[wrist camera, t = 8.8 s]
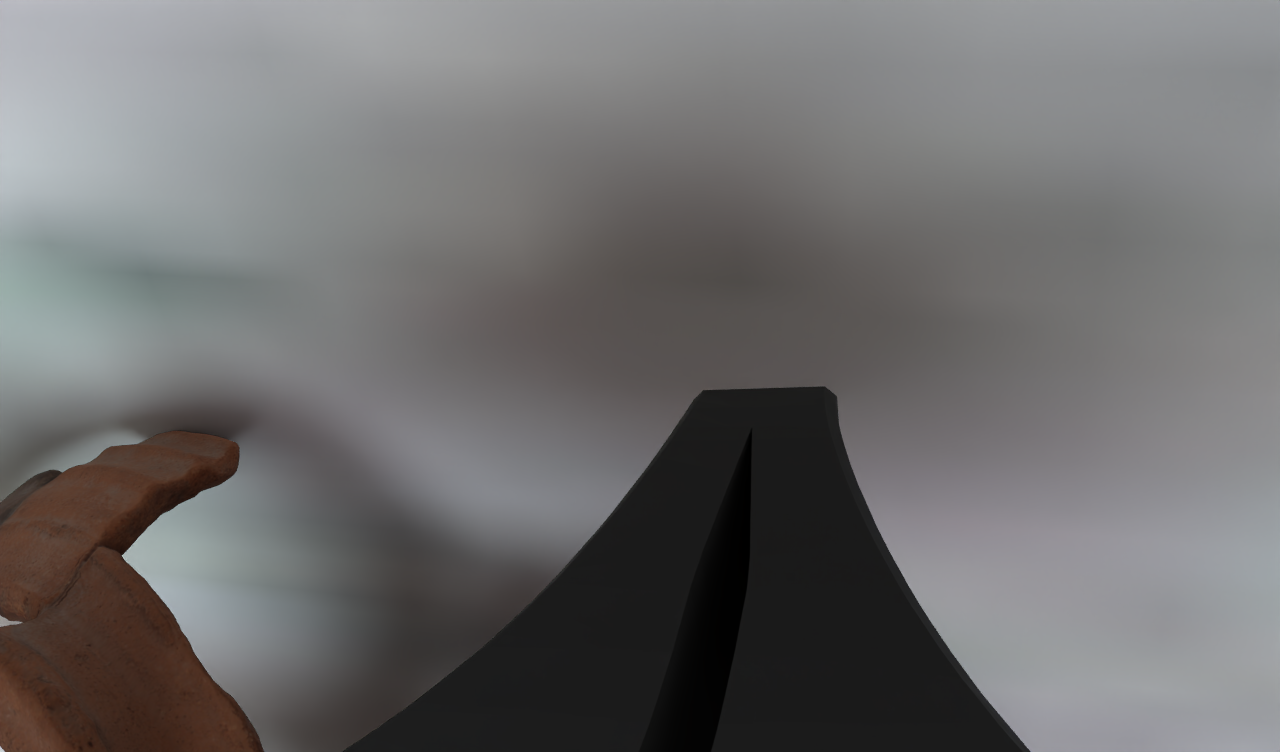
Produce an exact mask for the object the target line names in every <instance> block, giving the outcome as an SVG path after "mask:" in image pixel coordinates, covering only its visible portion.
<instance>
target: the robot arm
mask: <svg viewBox="0 0 1280 752" xmlns="http://www.w3.org/2000/svg"><path fill="white" fill-rule="evenodd" d="M343 752H1030V751H1029V749H1028V748H1027V747H1026V746H1025V745H1024V743H1023V742H1022V741H1021V740H1020V739H1019V738H1018V736H1017V735H1016V734H1015V733H1014V732H1013V730H1012V729H1011V728H1010V727H1009V726H1008V725H1007V723H1006V722H1005V721H1004V720H1003V719H1002V717H1001V716H1000V715H999V714H998V713H997V711H996V710H995V709H994V708H993V707H992V706H991V704H990V703H989V702H988V701H987V700H986V698H985V697H984V696H983V695H982V693H981V692H980V691H979V689H978V688H977V687H976V685H975V684H974V683H973V681H972V680H971V679H970V677H969V676H968V674H967V673H966V672H965V670H964V669H963V668H962V666H961V665H960V664H959V662H958V661H957V660H956V658H955V657H954V655H953V654H952V653H951V651H950V650H949V648H948V647H947V645H946V644H945V642H944V641H943V639H942V638H941V636H940V635H939V633H938V632H937V631H936V629H935V628H934V626H933V625H932V623H931V622H930V620H929V619H928V617H927V615H926V614H925V612H924V611H923V609H922V607H921V606H920V604H919V603H918V601H917V599H916V598H915V596H914V594H913V593H912V591H911V589H910V588H909V586H908V584H907V583H906V581H905V579H904V577H903V575H902V574H901V572H900V570H899V568H898V566H897V564H896V563H895V561H894V559H893V557H892V555H891V554H890V552H889V550H888V548H887V546H886V544H885V542H884V540H883V538H882V536H881V534H880V532H879V530H878V528H877V526H876V524H875V522H874V519H873V517H872V515H871V513H870V510H869V508H868V506H867V504H866V501H865V499H864V497H863V495H862V492H861V490H860V488H859V486H858V483H857V481H856V478H855V475H854V473H853V470H852V468H851V465H850V462H849V459H848V455H847V452H846V449H845V446H844V443H843V439H842V435H841V432H840V427H839V419H838V405H837V396H836V395H835V394H833V393H832V392H831V391H830V390H829V389H827V388H826V387H794V388H762V389H731V390H703V391H702V392H701V393H700V394H699V395H698V396H697V397H696V398H695V399H694V400H693V402H692V403H691V405H690V406H689V408H688V409H687V411H686V413H685V414H684V416H683V417H682V418H681V420H680V421H679V423H678V424H677V426H676V427H675V429H674V430H673V432H672V433H671V435H670V436H669V438H668V439H667V440H666V442H665V443H664V445H663V446H662V448H661V449H660V450H659V452H658V453H657V455H656V456H655V457H654V459H653V460H652V461H651V463H650V464H649V466H648V467H647V468H646V470H645V471H644V472H643V474H642V475H641V476H640V478H639V479H638V480H637V481H636V483H635V484H634V485H633V487H632V488H631V489H630V490H629V492H628V493H627V494H626V496H625V497H624V498H623V499H622V501H621V502H620V503H619V505H618V506H617V507H616V508H615V510H614V511H613V512H612V514H611V515H610V516H609V517H608V518H607V520H606V521H605V522H604V523H603V524H602V526H601V527H600V528H599V529H598V530H597V531H596V533H595V534H594V535H593V536H592V537H591V538H590V539H589V540H588V542H587V543H586V544H585V545H584V546H583V547H582V548H581V550H580V551H579V552H578V553H577V554H576V555H575V556H574V557H573V559H572V560H571V561H570V562H569V563H568V564H567V565H566V566H565V568H564V569H563V570H562V571H561V572H560V573H559V574H558V575H557V576H556V577H555V579H554V580H553V581H552V582H551V583H550V584H549V585H548V586H547V587H546V588H545V589H544V590H543V591H542V592H541V593H540V594H539V595H538V596H537V597H536V598H535V599H534V600H533V601H532V602H531V603H530V604H529V605H528V606H527V607H526V608H525V609H524V610H523V611H522V612H521V613H520V614H519V615H518V616H517V617H515V618H514V619H513V620H512V621H511V622H510V623H509V624H508V625H507V626H506V627H505V628H504V629H503V630H502V631H500V632H499V633H498V634H497V635H496V636H495V637H494V638H493V639H492V640H491V641H490V642H488V643H487V644H486V645H485V646H484V647H483V648H481V649H480V650H479V651H478V652H477V653H475V654H474V655H473V656H472V657H470V658H469V659H468V660H467V661H465V662H464V663H463V664H462V665H460V666H459V667H458V668H457V669H455V670H454V671H453V672H452V673H450V674H449V675H448V676H447V677H445V678H444V679H443V680H442V681H440V682H439V683H438V684H436V685H435V686H434V687H433V688H431V689H430V690H429V691H428V692H426V693H425V694H424V695H423V696H421V697H420V698H419V699H418V700H416V701H415V702H414V703H412V704H411V705H410V706H408V707H407V708H406V709H404V710H403V711H401V712H400V713H399V714H397V715H396V716H394V717H393V718H391V719H390V720H389V721H387V722H386V723H384V724H383V725H381V726H380V727H379V728H377V729H376V730H374V731H373V732H371V733H370V734H368V735H367V736H366V737H364V738H363V739H361V740H360V741H358V742H356V743H355V744H353V745H352V746H350V747H349V748H347V749H346V750H344V751H343Z"/></svg>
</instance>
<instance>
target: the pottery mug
mask: <svg viewBox="0 0 1280 752" xmlns="http://www.w3.org/2000/svg"><path fill="white" fill-rule="evenodd" d="M238 463H239V446H238V444H237V443H236V442H233V441H230V440H228V439H225V438H221V437H218V436H214V435H208V434H201V433H191V432H185V431H170V432H165V433H160V434H157V435H155V436H153V437H152V438H149V439H147V440H145V441H143V442H141V443H139V444H134V445H122V446H111V447H109V448H107V449H105V450H104V451H103V452H102V453H101V454H100V455H99V456H98V457H97V458H96V459H94V460H93V461H91V462H89V463H87V464H84V465H78V466H75V467H72V468H69V469H67V470H66V471H64V472H63V473H62V472H60V471H57V470H49V471H46V472H43V473H40V474H37V475H35V476H33V477H32V478H30V479H29V480H27V481H26V482H25V483H24V484H23V485H21V486H20V487H18V488H17V489H16V490H15V491H14V492H13V493H11V494H10V495H9V496H8V497H6V498H5V499H4V500H3V501H2V502H1V503H0V615H1V616H2V617H5V618H7V619H8V620H9V621H20V622H23V623H21V624H17V625H9V626H4V627H0V746H1V748H2V749H3V750H4V751H5V752H264V750H263V748H262V745H261V742H260V739H259V736H258V734H257V732H256V730H255V729H254V727H253V726H252V724H251V722H250V721H249V719H248V718H247V716H246V715H245V713H244V712H243V710H242V709H241V708H240V706H239V705H238V703H237V702H236V701H235V699H234V698H233V697H232V696H231V695H229V694H228V693H226V692H225V691H224V690H223V689H222V688H221V687H220V686H219V685H218V684H217V683H215V682H214V681H213V679H212V678H211V676H210V675H209V674H208V673H207V671H206V670H205V668H204V667H203V665H202V664H201V662H200V661H199V659H198V658H197V657H196V655H195V653H194V652H193V649H192V647H191V645H190V643H189V641H188V639H187V638H186V636H185V635H184V634H183V632H182V631H181V629H180V626H179V624H178V623H177V621H176V619H175V617H174V615H173V614H172V612H171V611H170V610H169V608H168V607H167V606H166V604H165V603H164V602H163V601H162V600H161V598H160V597H159V596H158V595H157V594H156V592H155V591H154V590H153V589H152V588H151V586H150V585H149V584H148V582H147V581H146V580H145V579H144V578H143V577H142V576H141V575H139V574H138V573H137V572H136V571H135V570H134V569H133V568H132V567H131V566H130V565H129V564H128V563H127V562H126V561H125V560H124V559H123V557H122V555H123V554H124V553H125V552H126V551H127V550H128V548H130V547H131V545H132V544H133V543H134V542H135V541H136V540H137V538H138V537H139V536H140V535H141V534H142V533H143V532H144V531H145V530H146V529H147V528H148V526H150V525H151V524H152V523H153V522H154V521H155V520H156V519H157V518H158V517H159V516H160V515H162V514H163V513H165V512H167V511H170V510H171V509H173V508H174V507H176V506H177V505H178V504H180V503H182V502H184V501H186V500H188V499H191V498H193V497H195V496H196V495H197V494H198V493H199V492H201V491H203V490H206V489H209V488H212V487H215V486H218V485H220V484H222V483H223V482H225V481H226V480H228V479H229V478H230V477H232V476H233V475H234V473H235V472H236V471H237V468H238Z"/></svg>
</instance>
